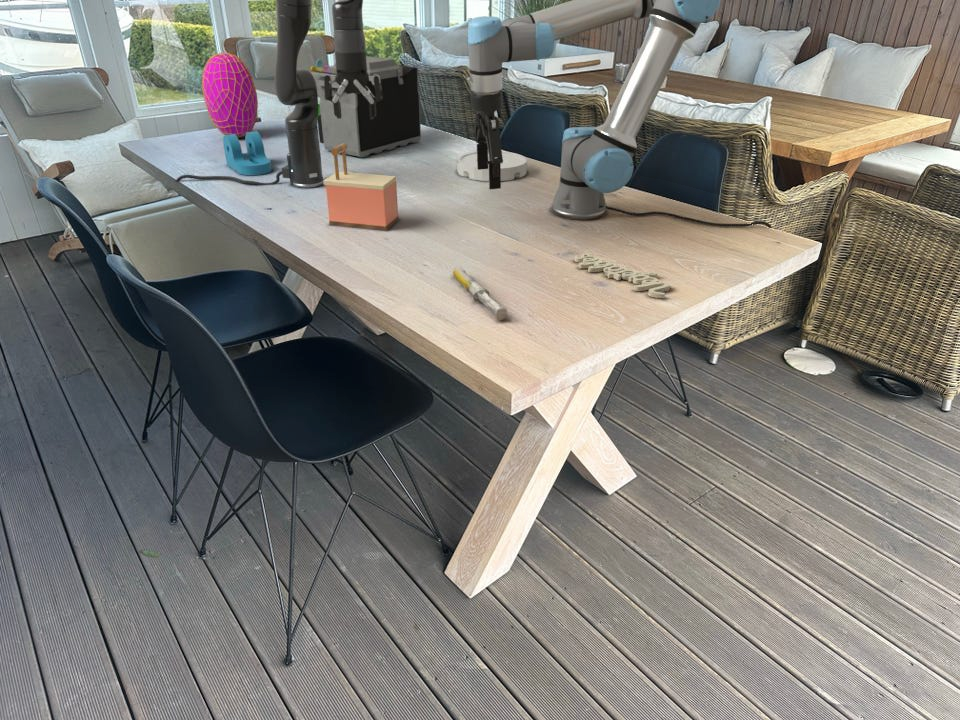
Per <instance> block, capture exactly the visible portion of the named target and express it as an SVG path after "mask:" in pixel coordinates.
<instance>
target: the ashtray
mask: <svg viewBox="0 0 960 720" xmlns="http://www.w3.org/2000/svg"><path fill="white" fill-rule="evenodd" d="M496 158H497V157H496ZM502 159H503V163H500V168H501V182H503V181H504V182H506V181H512V180H515V178H516V179H517V178H519V179H520V178H523V177H524V176H526V175H527V172H528V159H527V157H526V156H524V155H522V154H519V153H516V152H511V151H503V150H502ZM456 161H457V162H456V163H457V164H456V165H457V169H456V170H457V174H458V175H460V176H461V177H464V178H465V177H467V178H468V179H470V180H473V181H474V180H475V181H482V182H489V164H488V169H481V170H478V166H477V150H476V151H471V152H470V151H469V152H466V153H463V154H460V155H459V156H458V157H457V158H456ZM488 161H490V159H489V153H488Z"/></svg>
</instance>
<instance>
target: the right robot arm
mask: <svg viewBox="0 0 960 720" xmlns="http://www.w3.org/2000/svg"><path fill="white" fill-rule="evenodd" d="M721 2H722V0H568V1H566V2H562V3H560V4H557V5H553V6H550V7H547V8H544V9H541V10H537V11H534V12H531V13H528V14H525V15H522V16H517V17H515V18H514V17H509V18H508V17H507V18H504V19H502V20H501V18H500V17H498V16H493V15H490V16H489V15H488V16H486V15H485V16H476V17H473V18H471V19H470V20H469V21H468V25H467V47H468V64H469V65H468V67H469V77H467V82H468V83H469V86H470V87H469V88H470V89H469V90H470V91H471V92H470V108H471V109H472V110H473V111H475V123H474V134H473V136H474V137H473V138H474V139H475V143H476V151H477V166H478V170H481V169H488V164H489V181H488V186H489V187H488V189H489V190H499V189H502V181H501V168H500V163H503V159H502V151H503V150H502V143H501V135H500V124H499V123H500V119H499V118H497V116H495V112H497V111H499V110H501V109H502V108H503V107H504V106H503V98H504V97H503V91H502V89H503V63H510V62H511V63H512V62H523V61H540V60H545V59H549V58H551V57H552V56H553V53H554V50H555V41H560V40H562V39H566V38H568V37H572V36H576V35H579V34H582V33H584V32H588V31H591V30H594V29H597V28H601V27H605V26H608V25H610V24H614V23H616V22H617V23H618V22H620V21H623V20H626V19H629V18H631V19H632V20H634V21H638V20H641V19H644V18H649V22H650V28H649V30H648V31H647V34H646V36H645V37H644V39H643V43H642V44H641V46H640V48H639V51H638V53H637V55H636V57H635V59H634V61H633V63H632V65H631V67H630V69H629V71H628V73H627V75H626V78H625V80H624V82H623V84H622V85H621V88H620V90H619V91H618V94H617V96H616V98H615V100H614V102H613V104H612V106H611V108H610V111H609V113H608V115H607V117H606V119H605V121H604V123H602V124H600V125H597V126H576V127H575V126H573V127H569V128H566V129H565V130H564V131H563V136H562V140H561V158H560V159H561V160H560V175H559V177H560V178H559V185H558V187H557V189H556V192H555V194H554V197H553V199H552V203H551V212H552V213H553V214H554V215H555V216H558V217H561V218H563V219H567V220H568V219H569V220H577V221H587V220H595V219H596V220H597V219H599V218H600V219H601V218H602V217H604V216H605V215H606V214H607V213H606V212H607V210H610V211H613V212H617V213H621V214H624V215H627V216H632V217H633V216H635V217H636V216H637V217H641V216H642V217H643V216H650V215H660V216H661V215H662V216H667V217H672V218H676V219H681V220H684V221H689V222H692V223H693V222H694V223H698V224H702V225H707V226H716V227H741V228H742V227H750V226H754V225H764V226H766V227H767V228H768V229H772V228H773V226H772V225H771V224H770V223H769V222H766V221H763V220H757V221H752V222H750V223H751V224H747V223H748V222H747V223H724V222H723V223H722V222H721V223H720V222H711V221H706V220H701V219H697V218H692V217H688V216H684V215H683V216H682V215H678V214H675V213H671V212H665V211H645V212H630V211H626V210H624V209H620V208H616V207H612V206H609V205H608V206H607V204H606V199H605V195H604V194H611V193H614V192H618V191H619V190H621V189H623V188H624V187H625V186H626V185H627V184H628V183H629V181H630V180H631V179H632V177H633V173H634V161H633V158H634V155H635V153H636V151H637V149H638V144H637V141H636V137H637V135H638V133H639V132H640V130H641V128H642V125H643V124H644V122H645V120H646V118H647V116H648V113H649V112H650V110H651V108H652V106H653V104H654V102H655V100H656V98H657V96H658V94H659V92H660V90H661V88H662V86H663V84H664V82H665V81H666V78H667V76H668V74H669V73H670V70H671V68H672V66H673V64H674V62H675V61H676V58H677V56H678V55H679V53H680V51H681V48H682V47H683V45H684V43H685V42H686V41H688V40H690V39H692V38H694V37H695V36H696V33H697V31H698V29H699V27H700V25H701V24H702V23H705V22H706V21H708V20H709V19H711V18H712V17H713V16H714V14H715V13H716V12H717V11H718V9H719V8H720V4H721ZM488 153H489V159H490V161H488ZM496 157H497V158H496ZM752 224H753V225H752Z"/></svg>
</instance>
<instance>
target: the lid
mask: <svg viewBox="0 0 960 720" xmlns="http://www.w3.org/2000/svg"><path fill="white" fill-rule="evenodd" d="M345 150H347V145H346V144H345V143H342V144H340V145H338V146H336V147H334V148H333V149H332V150H331V151H330V154H332V156H333V160H334V162H333V163H334V171H335V173H333V174H331V175H330V176H328V177H326V178H325V179H323V182H324V183H323V186H326V185H332V186H344V187H355V188H366V189H378V190H384V189H386V188H387V187H388V186H389V185H391V184H392V183H393V182H395V181H396V182H397V176H396V175H385V174H373V173H372V174H371V173H370V174H369V173H360V172H350V171H348V164H347V163H348V162H347V154H346V151H345ZM340 154H342V155H341V156H342V166H343V171H340V170H339V159H338V158H339V157H338V156H339V155H340Z"/></svg>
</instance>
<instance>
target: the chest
mask: <svg viewBox="0 0 960 720" xmlns="http://www.w3.org/2000/svg"><path fill="white" fill-rule="evenodd" d="M397 186H398V185H397V180H396V181H395V182H393V183H392V184H391V185H389V186H388V187H387V188H386V189H384V190H378V189H366V188H355V187H344V186H332V185H325V192H326V201H327V210H328V219H329V221H328V222H329V226H337V227H343V228H344V227H345V228H355V229H356V228H357V229H367V230H375V231H385V232H387V231H388V230H389V229H390V228H391V227H392V226H393V225H394V224H396V223H397V222H398V221H399V204H398V203H399V202H398V188H397Z"/></svg>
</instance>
